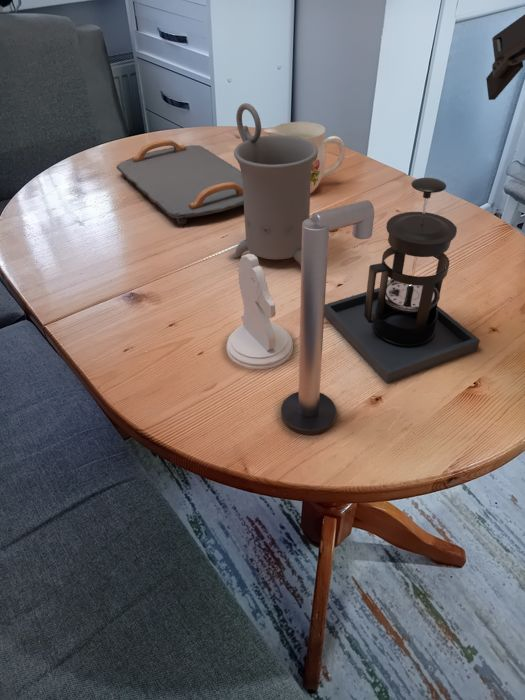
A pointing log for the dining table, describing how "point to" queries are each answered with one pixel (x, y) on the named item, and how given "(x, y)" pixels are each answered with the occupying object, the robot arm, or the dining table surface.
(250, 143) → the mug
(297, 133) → the pitcher
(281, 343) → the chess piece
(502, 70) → the robot arm
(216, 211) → the serving tray
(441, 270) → the french press
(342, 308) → the drip tray
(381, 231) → the dining table surface
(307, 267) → the tap
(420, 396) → the dining table surface
